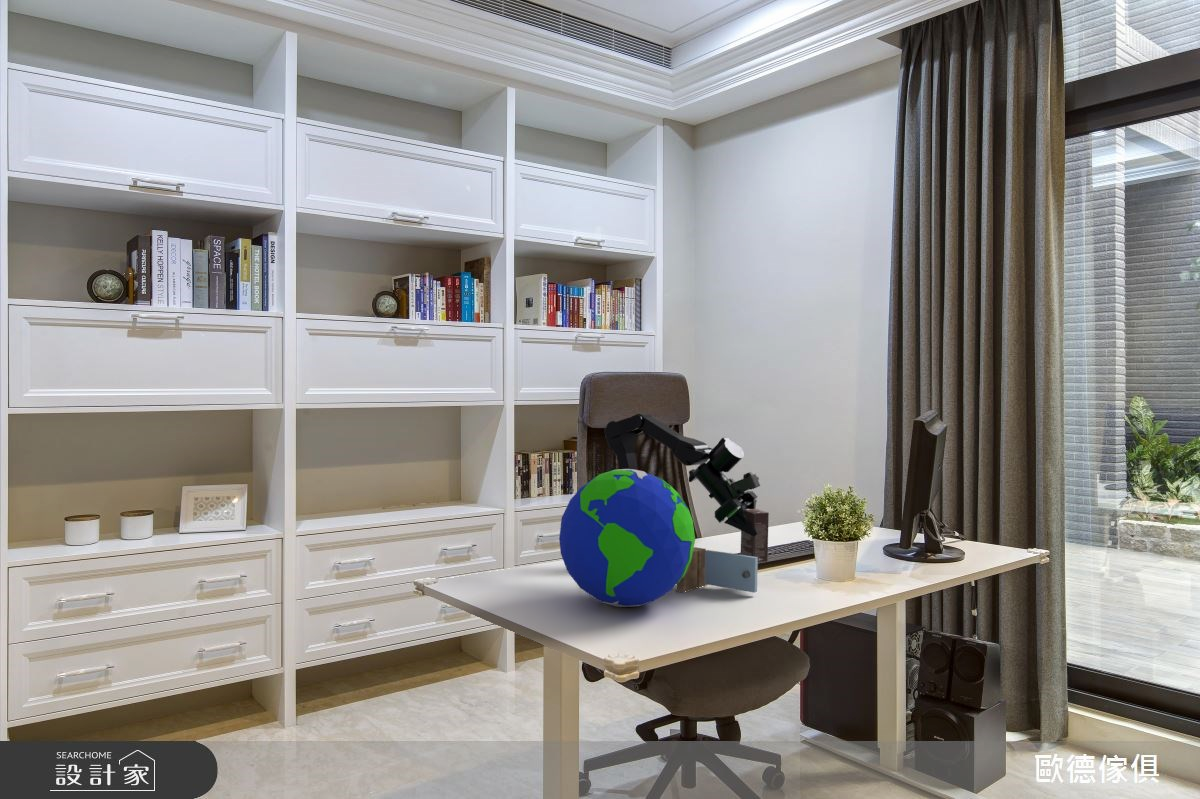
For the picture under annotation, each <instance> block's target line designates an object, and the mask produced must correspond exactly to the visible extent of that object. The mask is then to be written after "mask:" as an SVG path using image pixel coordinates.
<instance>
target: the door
mask: <svg viewBox="0 0 1200 799" xmlns="http://www.w3.org/2000/svg"><path fill="white" fill-rule="evenodd" d="M758 565H759V563H758V557H753V556H746V555H741V554H739V553H738V554H737V553H732V552H731V553H730V552H724V551H717V550H711V549H706V551H705V584H707V585H706V586H708V585H709V586H715V587H719V588H726V589H732V590H736V591H737V590H738V591H743V592H750V593H753V594H754V593H757V592H758V569H759V568H758Z"/></svg>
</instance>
